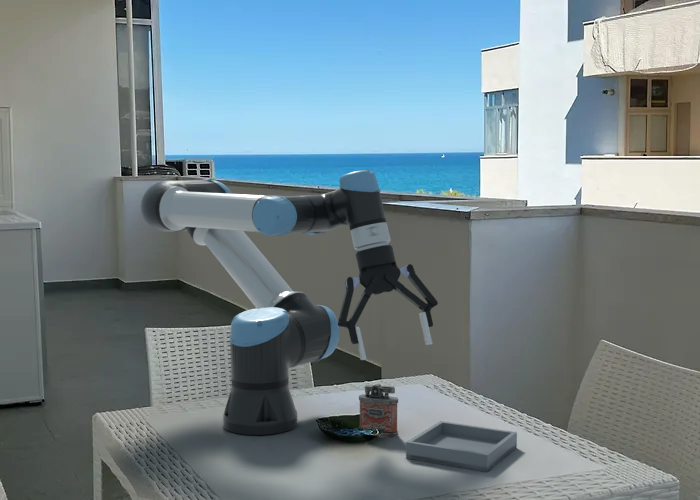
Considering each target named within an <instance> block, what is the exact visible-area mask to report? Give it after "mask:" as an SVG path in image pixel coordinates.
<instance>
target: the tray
mask: <svg viewBox="0 0 700 500" xmlns="http://www.w3.org/2000/svg"><path fill="white" fill-rule="evenodd" d="M517 446H518V432H517V431H510V430H504V429H498V428H490V427H485V426H484V427H483V426H476V425H471V424H470V425H469V424H465V423H456V422H449V421H443V420H440V421H438V422H436V423H434V424H433V425H431V426H430V427H428V428H427V429H425V430H423V431H422V432H420V433H418V434H417V435H415V436H414V437H412V438H410V439H409V440H408V441H407V440H406V441H405V459H409V460H414V461H420V462H425V463H426V462H427V463H432V464H439V465H445V466H450V467H456V468H460V469H461V468H463V469H468V470H473V471H478V472H479V471H480V472H484V473H485V472H486V473H488V472H489V471H490V470H491V469H493V468H494V467H496V466H497V464H499V463H500V462H502V461H503V460H504V459H505V458H506V457H507V456H508V455H510V454H511V453H513V451H515V450H516V449H517Z"/></svg>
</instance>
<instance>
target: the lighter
mask: <svg viewBox="0 0 700 500" xmlns="http://www.w3.org/2000/svg"><path fill="white" fill-rule="evenodd" d="M395 390H396V388H395V386H392V385H381V384H380V383H375V384H365V385H364V391H365V392H364V394H359V395H358V400H359V428H363V429H372V430H375V429H379V428H385V430H384V432H383V433H382V434H381V435H380V436H379V437H378V438H384V437H385V438H388V439H394V438H397V437H398V436H399V431H398V403H399V398H398V397H395V396H390V395H389V394H395V393H396V391H395Z"/></svg>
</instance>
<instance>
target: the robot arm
mask: <svg viewBox="0 0 700 500" xmlns="http://www.w3.org/2000/svg"><path fill="white" fill-rule="evenodd" d="M338 182H339V188H337V189H336V190H333V191H329V192H326V193H321V194H307V195H263V194H259V195H258V194H245V193H243V194H242V193H241V194H240V193H232V192H231V190H230V189H229V187H228V186H227V185H225V184H224V183H222V182H220V181H218V180H214V179H213V180H211V179H206V178H201V179H193V180H192V179H189V180H187V179H186V180H163V181H158V182H156V183H154V184H151V186H150V187H148V189H147V190H146V191H144V194H143V195H142V199H141V202H140V212H141V214H142V215H141V216H142V218H143V219H144V221H145V223H146V224H147V225H149V226H150V228H153V229H154V230H156V231H160V232H164V233H175V232H186V233H187V234H188V235H189V236H190V238H191V239H192V240H193V242H194V243H195V244H196V245H199V246H206V247H207V249H209V251H211V253H212V254H213V255H214V257H215V258H216V260H217V261H218V262H219V263H220V264H221V266H222V268H224V270H226V272H227V273H228V275H230V277H231V278H232V279H233V280H234V282H235V284H237V286H238V287H239V288H240V290H242V292H243V293H244V294H245V296H246V297H247V298H248V299H249V300H250V302H251V303H252V304H253V306H254V307H255V308H252V309H248V310H244V311H243V312H240V313H238V314H236V315H235V316H234V317H233V318H232V320H231V324H230V334H229V340H230V341H229V342H230V374H231V375H230V376H231V377H230V379H231V380H230V381H231V384H230V385H231V388H230V392H229V395H228V399H227V402H226V405H225V408H224V411H223V415H222V423H223V424H222V427H223V428H224V429H225V430H226V431H228V432H231V433H235V434H240V435H247V436H248V435H249V436H262V435H263V436H266V435H273V434H274V435H275V434H281V433H285V432H288V431H291V430H293V429H295V428H296V427H297V426H298V412H297V409H296V406H295V402H294V399H293V396H292V393H291V390H290V384H289V383H290V382H289V377H290V375H289V373H290V372H289V371H290V368H294V367H298V366H302V365H306V364H310V363H317V362H319V361H321V360H323V359H326V358H328V357H329V356H331V355H332V354H333V353H334V351H335V350H336V348H337V346H338V344H339V341H340V333H339V331H340V328H346V329H347V330H348V333H349V334H348V335H349V339H350V342H351V344H352V345H356V346H357V350H358V355H359V359H360V360H361V361H364V360H365V361H366V360H367V355H366V350H365V345H364V341H363V337H362V333H361V328H360V326H356V325H357V323H358V321H359V319H360V317H361V315H362V313H363V311H364V309H365V307H366V305H367V303H368V301H369V299H371V296H372V295H375V296H376V295H380V294H383V293H390V292H392V291H395V292H397V293H398V294H400V295H401V296H402V297H404V298H405V299H406V300H408V301H409V302H410V303H411V304H413V305H414V306H415V307H416V308H418V310H421V311H422V312H418V317H419V321H420V325H421V329H422V330H421V331H422V334H423V340H424V343H425V346H430V345H433V339H432V335H431V331H430V328H431V327H433V326H434V323H433V322H434V321H433V318H432V313H431V310H432V309H433V308H435V307H436V306H437V305H438V304H439V302H438V301H437V298H435V296H434V295H433V294H432V292H431V291H430V290H429V289H428V287H427V286H426V285H425V284H424V283H423V282H422V280H421V279H420V278H419V277H418V275H417V274H416V271H415V268H414V265H413V264H411V263H408V264H407V265H405V266H403V267H399V266H398V265H397V262H396V261H397V260H396V257H395V251H394V248H393V246H392V245H391V244H389V243H390V242H391V241H392V239H391V235H390V231H389V228H388V223H387V219H386V216H385V210H384V205H383V199H382V195H381V194H382V193H381V188H380V187H379V183H378V180H377V176H376V173H375V172H374V171H372V170H369V169H363V170H356V171H352V172H349V173H345V174H343V175H341V176H340V177H339V179H338ZM347 225H348V227H349V230H350V236H351V239H352V241H351V242H352V245H353V249H354V250H357V252H356V253H355V257H356V258H355V259H356V262H357V263H356V264H357V267H358V271H359V272H358V273H359V275H358V276H354V277H352V276H347V278H345V283H344V284H345V292H344V296H343V301H342V305H341V308H340V313H339V317H338V318H337V316H336V314H335V312H334V311H333V310H332V309H331V308H329V307H327V306H326V305H321V304H316V305H315V304H314V303H313V302H312V301H311V299H310V298H309V297H308V296H307V295H306V294H305V293H304V292H303V291H293V289H292V288H291V287H290V286H289V284H288V283H287V282H286V281H285V280H284V278H283V277H282V276H281V274H280V273H278V272H279V271H277V270H276V269H275V268H274V266H273V265H272V264H271V263H270V261H268V258H267V257H266V256H265V255H264V254H263V253H262V252H261V251H260V249H259V248H258V247H257V246H256V244H255V243H254V242H253V241H252V240H251V238H250V237H249V236H248V235H247V234H246V232H249V233H250V232H252V233H261V234H262V235H265V236H272V237H273V236H274V237H281V236H285V235H292V234H293V235H294V234H307V235H308V236H314V235H319V234H325V233H327V232H329V231H332V230H334V229H337V228H340V227H344V226H347ZM401 275H403V276H404V277H406V278H407V279H408V280H409V282H410V283H411V284H412V286H414V287H415V289H416V291H418V293H419V294H420V295H421V296H422V298H423V299H424V300H425V301H426V302H424V300H422V299H421V298H420V297H419V296H417V295H416V294H415V293H413V292H412V291H411V290H409V289H408V288H407V287H406V286H405V285H404V284H402V283H401V282H400V281H399V278H400V277H401ZM358 283H359V284H360V285H361V286H363V287H364V290H363V293H362V294H361V297H360V299H359V301H358V303H357V304H356V307H355V309H354V310H353V312H352V314H351V316H350V318H349V320H348V316H349V313H350V312H349V311H350V308H351V307H350V306H351V303H352V299H353V295H354V291H355V290H354V289H356V287H357V286H358Z"/></svg>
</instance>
